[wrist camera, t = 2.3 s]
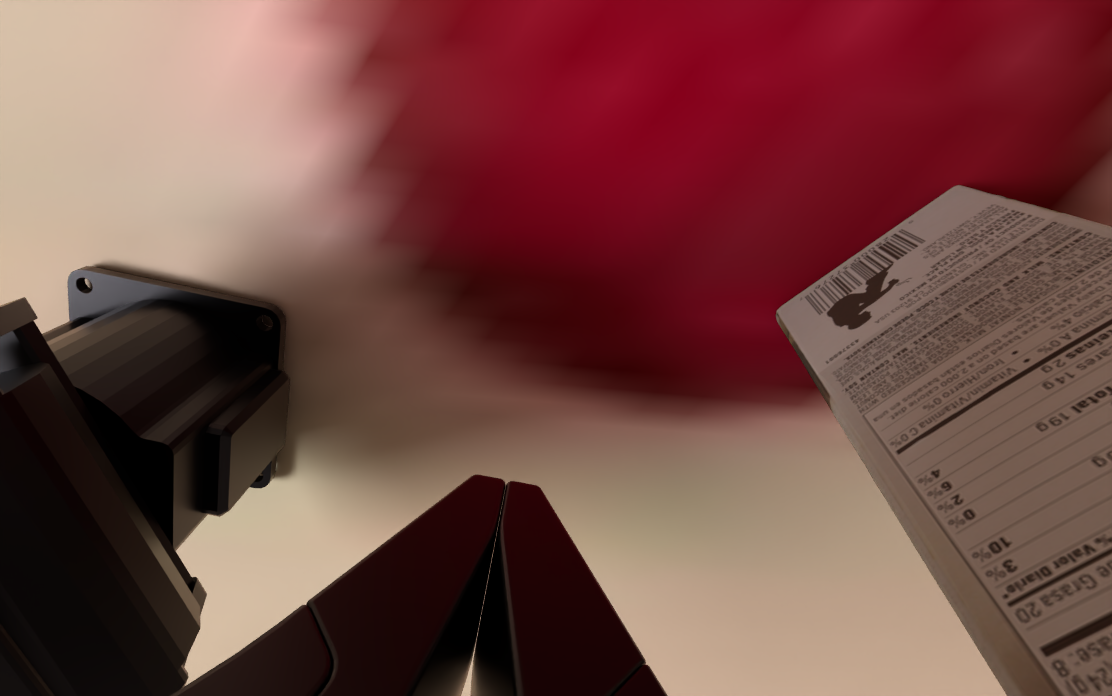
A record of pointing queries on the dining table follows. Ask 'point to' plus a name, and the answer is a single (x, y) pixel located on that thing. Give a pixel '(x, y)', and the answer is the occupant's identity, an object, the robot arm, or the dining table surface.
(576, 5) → the dining table surface
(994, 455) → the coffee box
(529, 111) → the dining table surface
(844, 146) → the dining table surface
